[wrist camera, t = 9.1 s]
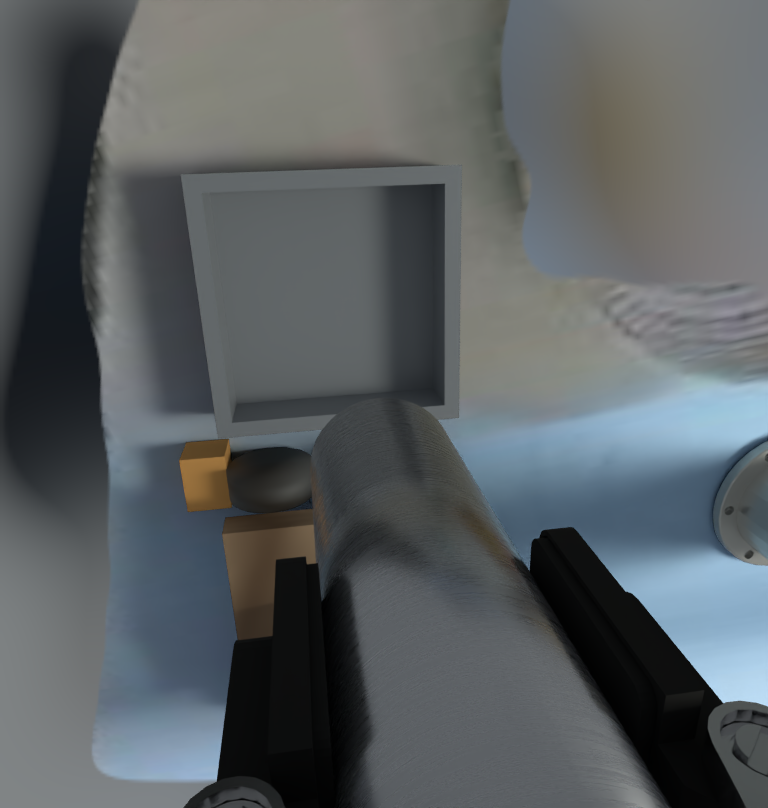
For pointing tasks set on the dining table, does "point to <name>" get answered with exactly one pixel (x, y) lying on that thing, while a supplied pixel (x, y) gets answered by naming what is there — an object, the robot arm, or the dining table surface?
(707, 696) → the robot arm
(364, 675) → the pin
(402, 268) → the tray
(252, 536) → the trolley
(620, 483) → the dining table surface
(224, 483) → the orange block
